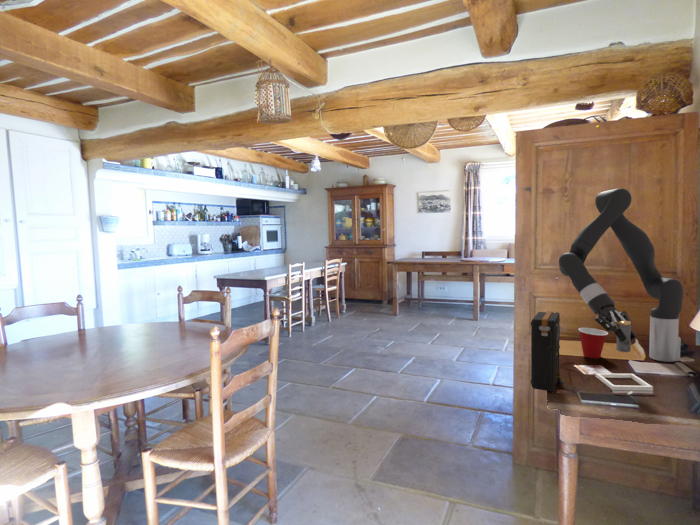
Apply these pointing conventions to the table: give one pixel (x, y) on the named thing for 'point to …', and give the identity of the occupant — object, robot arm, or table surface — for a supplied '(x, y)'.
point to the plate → (591, 369)
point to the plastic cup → (592, 341)
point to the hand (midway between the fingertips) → (629, 339)
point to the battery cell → (626, 329)
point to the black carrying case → (545, 350)
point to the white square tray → (624, 387)
